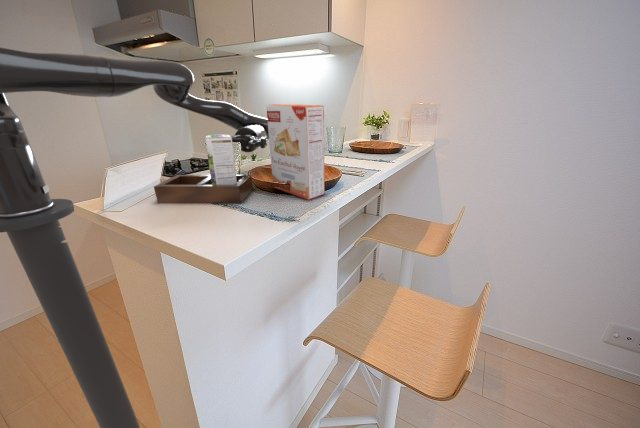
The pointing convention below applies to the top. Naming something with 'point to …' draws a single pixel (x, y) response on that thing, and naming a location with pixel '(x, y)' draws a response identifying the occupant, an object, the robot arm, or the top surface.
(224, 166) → the syrup box
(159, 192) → the wooden serving tray
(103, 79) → the robot arm
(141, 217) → the top surface
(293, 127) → the cracker box
